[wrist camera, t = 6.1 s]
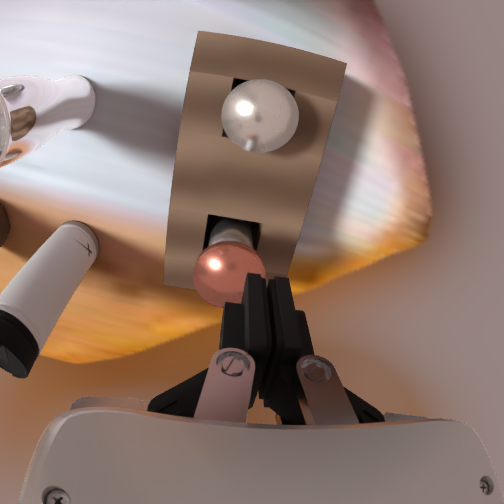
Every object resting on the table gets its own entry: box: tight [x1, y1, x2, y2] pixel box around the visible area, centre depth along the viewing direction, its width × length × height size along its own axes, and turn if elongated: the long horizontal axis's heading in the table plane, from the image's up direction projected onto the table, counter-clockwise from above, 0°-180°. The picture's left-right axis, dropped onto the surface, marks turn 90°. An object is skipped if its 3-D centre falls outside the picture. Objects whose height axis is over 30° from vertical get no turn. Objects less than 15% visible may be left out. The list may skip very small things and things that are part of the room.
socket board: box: [163, 31, 347, 290], centre depth 29 cm, size 24×12×6 cm, turn 168°
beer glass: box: [0, 75, 95, 168], centre depth 21 cm, size 7×7×15 cm
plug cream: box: [221, 79, 299, 153], centre depth 25 cm, size 6×6×8 cm
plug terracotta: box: [193, 216, 266, 308], centre depth 28 cm, size 6×6×8 cm
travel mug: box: [0, 221, 99, 378], centre depth 27 cm, size 6×7×20 cm
